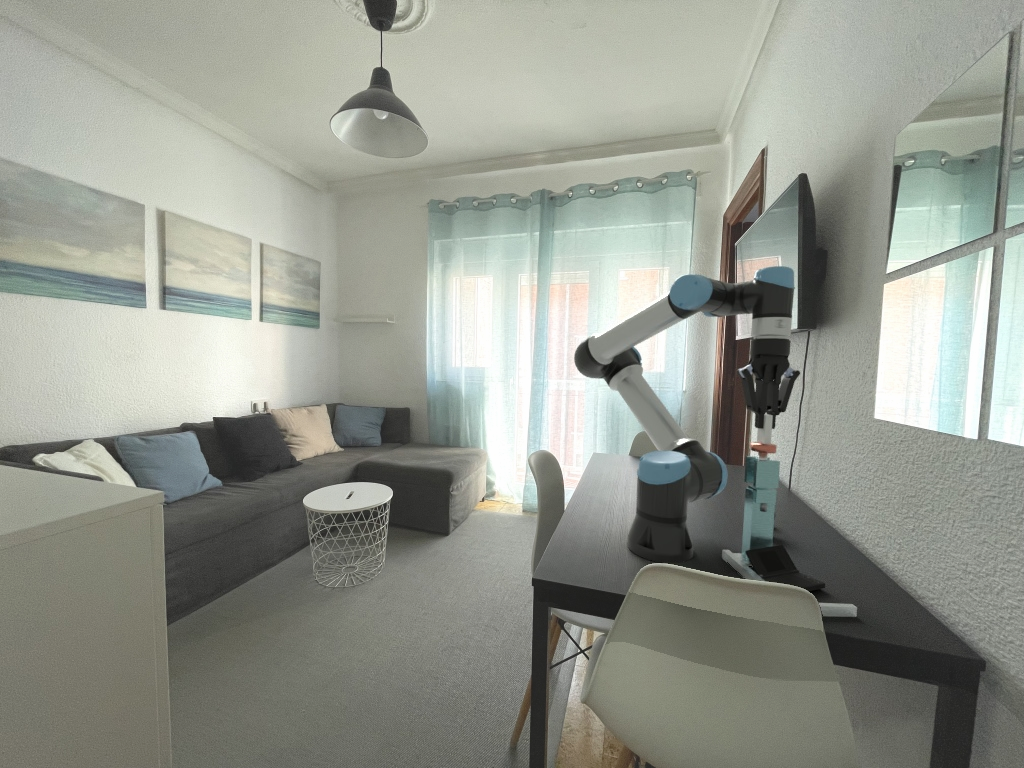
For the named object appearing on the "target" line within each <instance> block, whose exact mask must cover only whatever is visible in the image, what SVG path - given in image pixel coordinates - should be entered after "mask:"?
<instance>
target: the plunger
mask: <svg viewBox="0 0 1024 768" xmlns="http://www.w3.org/2000/svg"><path fill="white" fill-rule="evenodd" d="M749 447H750V448H749V450H750V451H751V452H756V453H757V457H758V460H767V457H768V454H777V444H775V443H771V444H762V443H759V442H757V441H750V445H749Z"/></svg>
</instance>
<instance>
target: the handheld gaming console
mask: <svg viewBox="0 0 1024 768" xmlns="http://www.w3.org/2000/svg"><path fill="white" fill-rule="evenodd" d="M745 552H746V555H747V557H748V558H749V560H750V562H751V564H752V566H753V567H752V568H753V569H754V570H753V571H754V572H755V573H756V574H757V575H759V576H760V577H761V578H762V579H763V580H764V581H769V582H777V583H784V584H790V585H794V586H798V587H801V588H804V589H806V590H808V592H812V591H816V590H821V589H825V588H826V583H825V582H823V581H821V580H819V579H817V578H814V577H811V576H809V575H807V574H804V573H802V572H800V570H799V569H797V566H796V565H795V562H794V561H793V559H792V557H790V554H789V553H788V552H787V550H786V548H785V546H784V545H783V544H779V545H772V546H771V547H765V548H758V549H752V550H747V551H745Z"/></svg>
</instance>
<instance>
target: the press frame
mask: <svg viewBox="0 0 1024 768" xmlns="http://www.w3.org/2000/svg"><path fill="white" fill-rule="evenodd" d="M780 464H781V461H779V460H772V459H771V458H770V457H768V456H767V460H758V456H749V455H747V456H745V465H744V477H743V478H744V483H747V484H748V487H745V494H744V495H745V496H744V508H743V509H744V510H743V522H742V523H743V525H742V541H741V542H742V543H741V544H742V545H741V553H740V552H737V553H736V552H732V551H731V550H729V549H722V550H721V551H722V552H721V553H722V554H721V558H722V560H723V561H725V562H726V563H727V562H728V563H729V564H730V565H731V566H732V567H733V568H734V569H735V570H737V571H738V572H739V573H741V574H742V575H743V576H745V577H742V578H743V579H744V578H746V579H753V580H761V581H764V580H763V579H762V578H761V577H762V576H761V577H760V576H759V575H757V574H756V572H755V570H753V569H752V567H748V566H752V564H751V562H750V560H749V558H748V557H747V555H746V552H745V551H747V550H752V549H758V548H765V547H771V546H773V539H774V538H773V537H774V527H775V526H774V525H775V520H774V513H775V514H776V511H775V509H776V505H777V493H778V491H777V489H779V481H780V467H781V465H780ZM750 484H752V485H750ZM728 563H727V564H728ZM729 564H728V565H729ZM730 565H729V566H730ZM731 566H730V567H731ZM732 567H731V568H732ZM733 568H732V569H733ZM734 569H733V570H734ZM735 570H734V571H735ZM738 572H737V573H738ZM739 573H738V574H739ZM818 603H819V605H820V607H821V611H822V614H823V616H822V617H839V618H840V617H848V618H850V617H852V618H856V617H857V613H858V607H857V606H855V605H854V604H853V603H838V602H837V603H835V602H834V603H833V602H832V603H831V602H818Z"/></svg>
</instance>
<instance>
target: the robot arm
mask: <svg viewBox="0 0 1024 768" xmlns="http://www.w3.org/2000/svg"><path fill="white" fill-rule="evenodd" d="M795 289H796V287H795V271H794V269H793V268H791V267H789V266H783V265H778V266H777V265H776V266H774V265H773V266H767V267H763V268H760V269H758V270H756V271H755V272H754V277H753V280H749V281H741V282H735V283H734V282H733V283H729V282H726V281H725V282H724V281H723V280H722V281H721V280H718V279H714V278H709V277H707V276H704V275H702V274H694V273H693V274H692V273H687V274H683V275H680V276H679V277H677V278H676V279H675V280H674V282H673V284H671V286H670V290H669V291H668V292H667V293H665V294H664V295H662V296H660V297H659V298H657V299H656V300H654V301H652V302H651V303H649V304H647V305H646V306H644V307H642V308H641V309H639V310H637V311H636V312H634V313H632V314H631V315H629V316H627V317H626V318H624V319H623V320H622V321H620V322H617V323H616V324H615V325H613V326H611V327H610V328H608V329H607V330H605V331H604V332H602V333H593V334H591V335H590V336H589V337H587V338H585V339H584V340H582V341H581V342H580V343H579V345H578V346H577V348H576V350H575V352H574V357H573V361H574V362H573V363H574V364H575V367H576V370H577V371H578V372H579V373H580V374H581V375H583V376H584V377H586V378H589V379H602V380H604V381H605V383H606V384H607V386H608V387H609V389H610V390H611V391H614V392H616V391H617V392H618V393H619V395H620V396H621V398H622V399H623V401H624V402H625V404H626V405H627V407H628V408H629V409H630V411H631V412H632V414H633V415H634V417H635V418H636V420H637V421H638V423H639V424H640V426H641V427H642V429H643V430H644V431H645V433H646V435H647V436H648V437H649V439H650V441H651V442H652V444H653V445H654V446H655V448H656V449H657V450H654V451H649V452H647V453H644V454H643V455H642V456H641V457H640V458H639V461H638V466H637V470H636V473H637V474H636V475H637V484H636V508H635V516H634V519H633V521H632V523H631V525H630V529H629V530H628V533H627V537H626V539H627V541H626V542H627V543H626V546H627V548H628V549H629V550H630V551H631V552H632V553H633V554H634V555H636V556H638V557H641V558H643V559H645V560H649V561H651V560H652V562H655V563H659V562H663V563H683V561H684V562H687V561H689V560H691V559H692V558H693V557H694V544H693V540H692V536H691V532H690V529H689V525H688V521H687V520H688V505H689V503H694V502H698V501H702V500H708V499H712V498H713V497H714V496H718V495H719V494H720V493H721V492H723V491H724V489H725V488H726V486H727V483H728V477H729V475H728V474H729V473H728V469H727V465H726V463H725V462H724V461H723V459H722V458H721V457H720V456H718V455H717V454H716V453H715V452H712V451H708V450H706V449H705V448H704V447H703V445H702V444H701V443H700V442H699V441H698V439H695V438H690V437H688V435H687V434H686V433H685V431H684V430H683V429H682V427H681V426H680V425H679V423H678V422H677V421H676V420H675V418H674V417H673V415H672V413H670V411H669V409H668V408H667V407H666V406H665V404H664V403H663V402H662V401H661V399H660V398H659V396H658V395H657V394H656V392H655V391H654V390H653V388H652V387H651V386H650V384H649V383H648V382H647V380H646V378H644V376H643V372H644V368H643V366H642V365H643V363H642V362H641V361H642V356H641V353H640V352H639V350H638V349H637V347H635V346H637V345H639V344H641V343H643V342H645V341H646V340H649V339H650V338H652V337H654V336H656V335H658V334H660V333H662V332H663V331H665V330H667V329H669V328H671V327H673V326H675V325H676V324H678V323H680V322H682V321H684V320H686V319H689V318H690V317H692V316H694V315H697V313H699V312H702V313H703V315H704V316H706V317H708V318H711V317H714V318H716V317H717V318H722V317H729V316H734V315H735V316H737V315H738V316H739V315H750V314H752V317H751V328H750V329H751V331H750V337H751V338H753V339H751V341H750V346H749V347H750V348H749V349H750V350H749V354H750V358H749V360H748V362H747V365H746V366H744V367H741V368H738V369H737V370H736V372H737V374H738V376H739V378H740V379H741V385H742V390H743V391H742V392H743V396H744V397H743V398H744V401H745V402H744V403H745V408H746V410H747V411H750V412H752V413H753V414H754V427H755V428H756V429H757V435H756V442H759V443H762V444H772V433H773V430H774V429H775V428H776V421H777V420H776V419H777V416H779V415H780V413H785V412H786V411H787V407H788V405H789V401H790V398H791V396H792V392H793V388H794V386H795V382H796V380H797V379H798V377H799V376H800V375H801V371H800V370H796V369H794V368H792V367H791V366H790V361H789V356H790V354H791V340H790V339H789V337H791V335H792V322H793V321H792V320H793V306H794V295H795ZM753 375H754V379H753Z"/></svg>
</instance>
